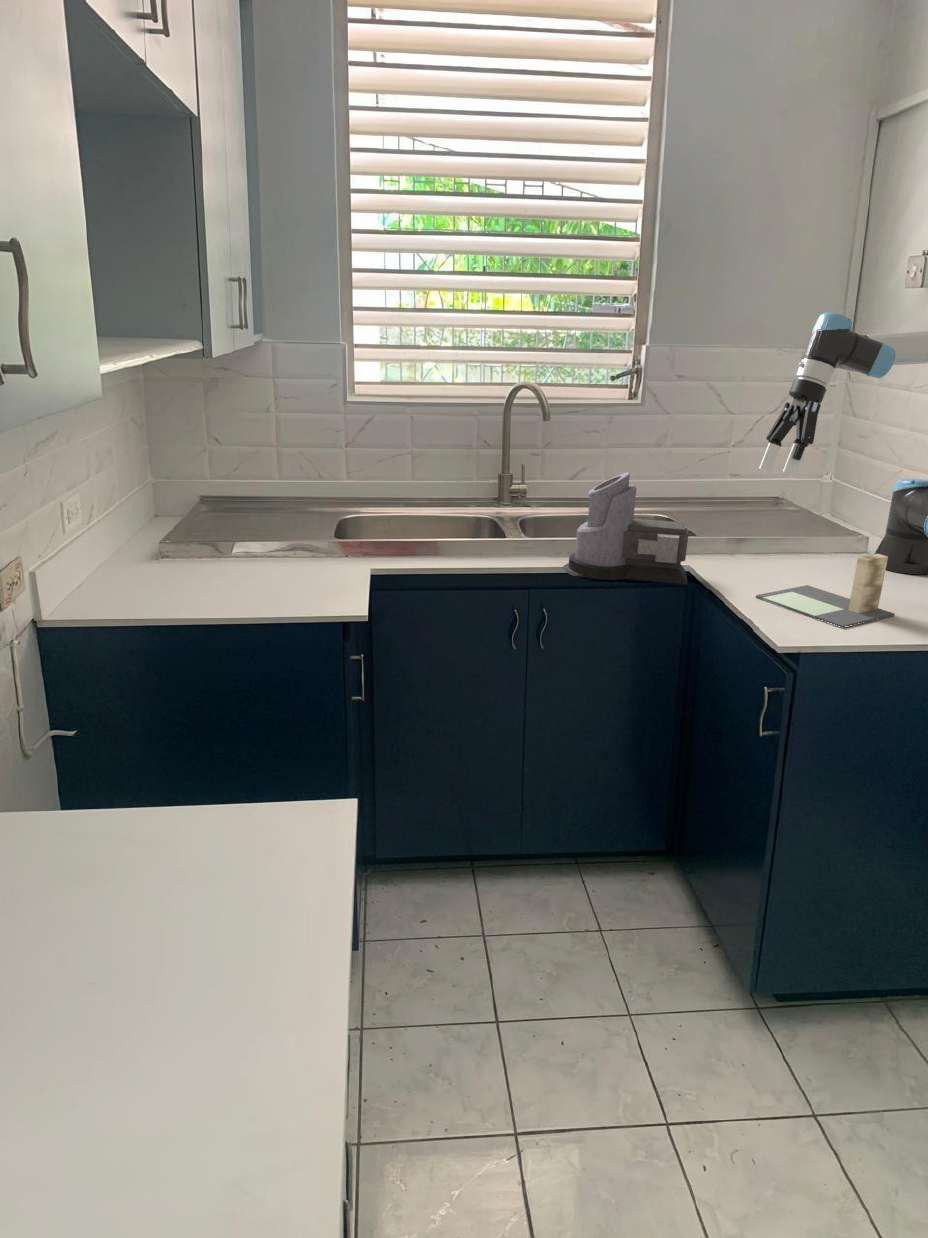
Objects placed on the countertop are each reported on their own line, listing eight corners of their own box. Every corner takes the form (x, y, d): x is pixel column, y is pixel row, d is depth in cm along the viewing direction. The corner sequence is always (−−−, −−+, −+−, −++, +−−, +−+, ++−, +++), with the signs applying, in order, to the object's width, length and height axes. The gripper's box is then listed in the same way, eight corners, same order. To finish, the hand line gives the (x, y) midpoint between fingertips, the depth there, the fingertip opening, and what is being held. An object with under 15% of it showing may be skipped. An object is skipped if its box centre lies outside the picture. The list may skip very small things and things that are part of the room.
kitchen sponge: (867, 605, 209) (877, 553, 205) (877, 608, 207) (888, 556, 203) (847, 609, 205) (857, 557, 201) (858, 613, 203) (868, 560, 199)
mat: (807, 587, 222) (807, 585, 222) (894, 616, 204) (894, 613, 204) (755, 597, 213) (756, 595, 213) (842, 628, 195) (842, 625, 195)
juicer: (560, 576, 224) (568, 474, 215) (565, 558, 238) (573, 463, 230) (688, 587, 219) (701, 484, 211) (685, 569, 234) (697, 472, 226)
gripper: (773, 379, 224) (741, 464, 228) (821, 374, 200) (784, 469, 204) (801, 390, 225) (769, 474, 229) (852, 385, 201) (814, 480, 205)
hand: (776, 472), depth 216 cm, fingers open, 13 cm apart
